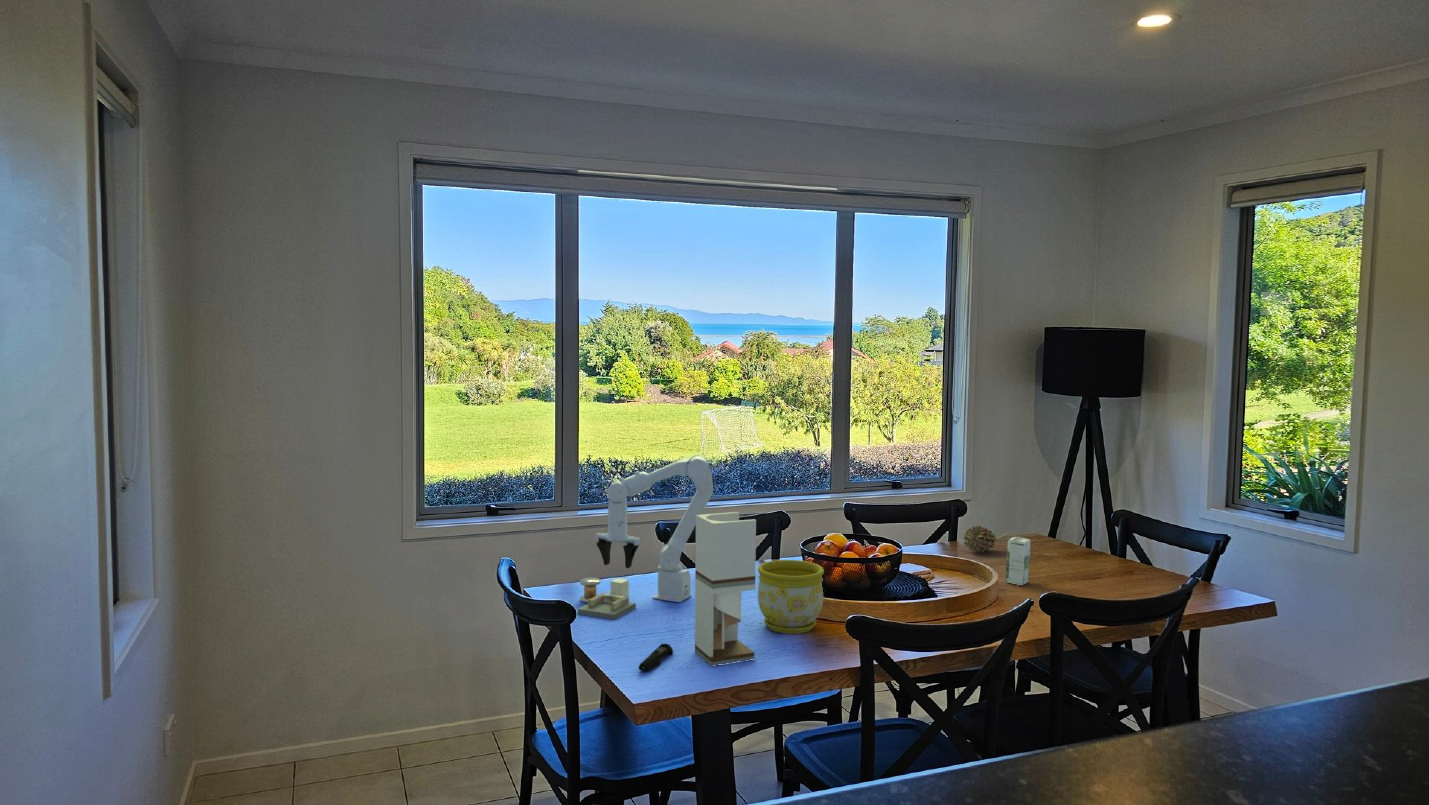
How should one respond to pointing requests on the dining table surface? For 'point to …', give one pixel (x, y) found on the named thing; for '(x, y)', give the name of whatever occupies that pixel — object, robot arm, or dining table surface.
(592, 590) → the bobbin spool
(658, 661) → the electric trimmer
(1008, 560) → the syrup box
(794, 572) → the flowerpot
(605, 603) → the notched board
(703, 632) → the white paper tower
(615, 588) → the block
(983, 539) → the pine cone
